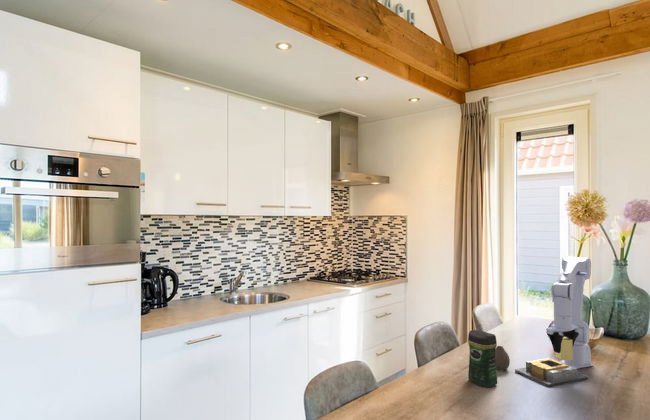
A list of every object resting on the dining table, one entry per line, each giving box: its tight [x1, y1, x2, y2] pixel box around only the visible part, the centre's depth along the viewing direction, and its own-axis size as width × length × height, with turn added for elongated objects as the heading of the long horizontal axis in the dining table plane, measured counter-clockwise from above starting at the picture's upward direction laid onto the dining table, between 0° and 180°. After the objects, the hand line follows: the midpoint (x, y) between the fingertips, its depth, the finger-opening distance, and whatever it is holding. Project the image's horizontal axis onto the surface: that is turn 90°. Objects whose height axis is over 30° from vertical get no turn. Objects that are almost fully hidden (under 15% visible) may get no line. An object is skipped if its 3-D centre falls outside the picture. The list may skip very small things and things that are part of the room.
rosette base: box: [514, 357, 589, 388], centre depth 152 cm, size 20×15×5 cm
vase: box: [495, 345, 511, 372], centre depth 159 cm, size 7×7×9 cm
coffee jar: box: [467, 329, 498, 388], centre depth 146 cm, size 10×8×19 cm
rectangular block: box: [554, 336, 573, 361], centre depth 150 cm, size 4×4×8 cm
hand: (562, 351), depth 150 cm, fingers closed on rectangular block, 6 cm apart
